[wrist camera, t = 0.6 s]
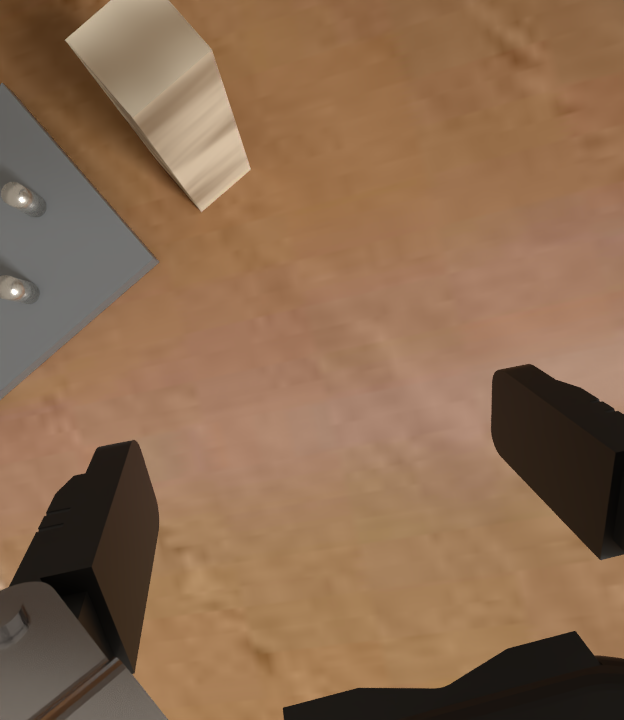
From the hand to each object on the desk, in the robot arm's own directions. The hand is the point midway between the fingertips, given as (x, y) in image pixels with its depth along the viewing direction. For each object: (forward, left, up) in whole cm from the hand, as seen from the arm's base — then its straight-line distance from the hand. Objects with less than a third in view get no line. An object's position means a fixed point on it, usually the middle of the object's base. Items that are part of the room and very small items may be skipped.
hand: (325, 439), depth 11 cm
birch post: (-15, -9, -23) cm, 29 cm away
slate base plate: (-8, -23, -23) cm, 34 cm away
